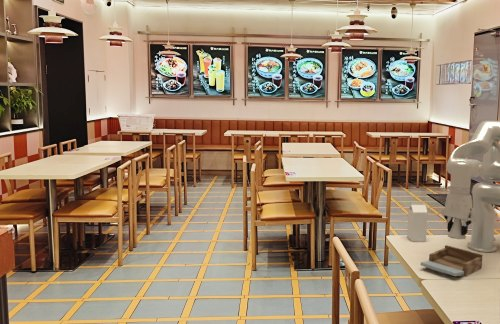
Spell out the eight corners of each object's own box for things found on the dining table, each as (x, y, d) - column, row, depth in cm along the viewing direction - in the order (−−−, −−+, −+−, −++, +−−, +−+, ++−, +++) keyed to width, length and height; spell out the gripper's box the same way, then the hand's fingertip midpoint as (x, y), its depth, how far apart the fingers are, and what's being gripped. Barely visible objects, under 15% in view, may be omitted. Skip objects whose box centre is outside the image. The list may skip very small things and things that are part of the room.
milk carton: (425, 241, 233) (428, 204, 230) (411, 241, 233) (413, 204, 230) (421, 237, 240) (423, 201, 237) (407, 237, 240) (408, 201, 237)
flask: (468, 240, 193) (469, 216, 192) (449, 239, 195) (450, 215, 193) (463, 235, 200) (465, 212, 199) (445, 234, 202) (447, 211, 200)
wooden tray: (445, 258, 210) (446, 245, 209) (481, 268, 198) (482, 254, 197) (428, 265, 201) (429, 251, 200) (465, 276, 189) (466, 262, 188)
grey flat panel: (429, 260, 200) (420, 262, 196) (464, 271, 189) (455, 273, 184) (428, 265, 201) (420, 266, 196) (463, 275, 189) (455, 277, 184)
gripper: (435, 188, 199) (433, 230, 201) (476, 195, 186) (473, 239, 188) (445, 186, 203) (442, 227, 206) (485, 193, 190) (481, 236, 193)
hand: (457, 232), depth 197 cm, fingers closed on flask, 5 cm apart
